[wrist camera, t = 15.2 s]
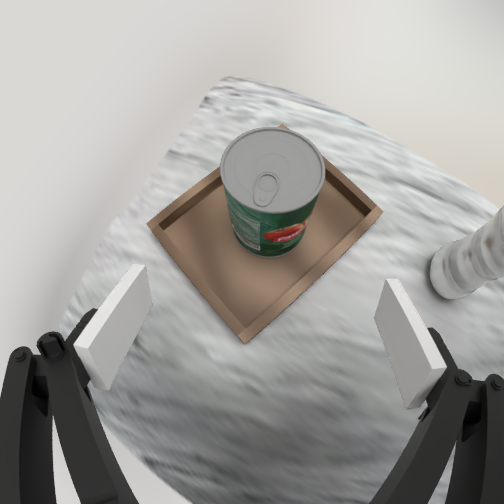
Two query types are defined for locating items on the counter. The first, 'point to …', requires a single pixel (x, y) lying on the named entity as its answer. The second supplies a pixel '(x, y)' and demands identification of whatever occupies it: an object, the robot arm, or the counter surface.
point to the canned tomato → (271, 188)
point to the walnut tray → (251, 266)
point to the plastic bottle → (470, 260)
